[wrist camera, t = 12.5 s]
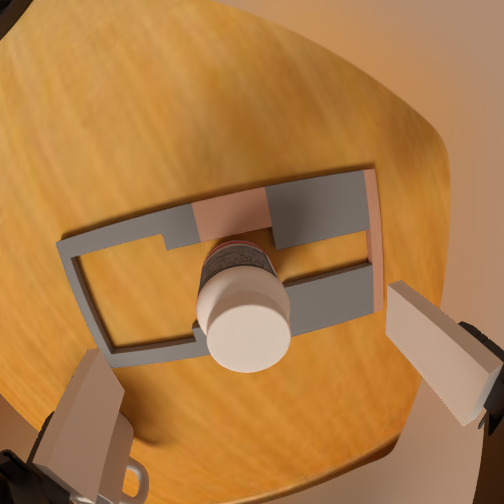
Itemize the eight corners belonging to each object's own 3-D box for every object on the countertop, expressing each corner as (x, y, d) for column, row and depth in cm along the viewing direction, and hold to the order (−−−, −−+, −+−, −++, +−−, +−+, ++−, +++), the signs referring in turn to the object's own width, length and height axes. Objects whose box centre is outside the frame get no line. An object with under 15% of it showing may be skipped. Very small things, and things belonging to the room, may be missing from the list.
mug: (59, 412, 24) (29, 476, 14) (85, 385, 23) (49, 464, 13) (136, 460, 27) (125, 526, 17) (172, 442, 26) (165, 520, 16)
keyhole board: (60, 240, 19) (55, 242, 18) (369, 168, 20) (374, 168, 19) (111, 363, 22) (109, 368, 22) (379, 305, 23) (383, 309, 23)
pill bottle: (188, 261, 20) (168, 324, 12) (250, 225, 20) (271, 267, 12) (226, 316, 22) (230, 395, 14) (284, 283, 22) (320, 351, 13)
